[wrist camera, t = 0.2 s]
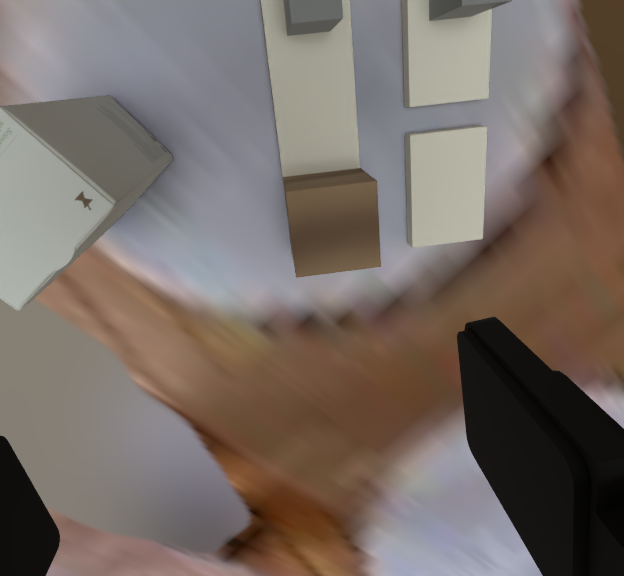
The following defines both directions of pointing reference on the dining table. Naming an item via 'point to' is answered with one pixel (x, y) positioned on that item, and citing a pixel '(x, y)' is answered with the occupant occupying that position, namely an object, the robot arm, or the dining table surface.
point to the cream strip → (312, 84)
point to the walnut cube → (333, 221)
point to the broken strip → (455, 141)
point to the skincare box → (65, 184)
